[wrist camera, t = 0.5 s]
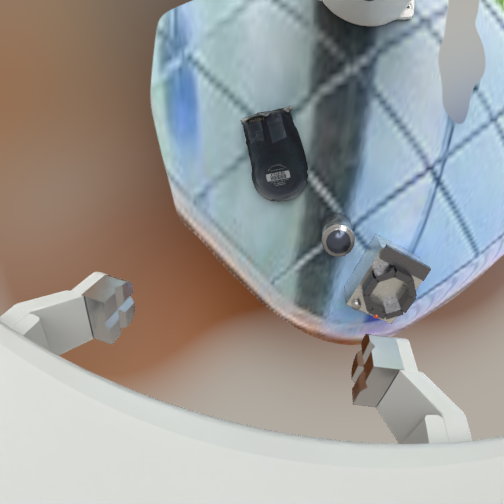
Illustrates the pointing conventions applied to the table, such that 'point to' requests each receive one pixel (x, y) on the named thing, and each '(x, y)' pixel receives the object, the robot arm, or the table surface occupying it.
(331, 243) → the lens
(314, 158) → the table surface
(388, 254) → the camera body
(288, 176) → the electronic device
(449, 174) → the table surface
